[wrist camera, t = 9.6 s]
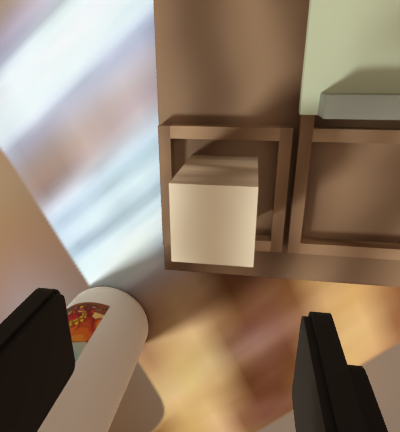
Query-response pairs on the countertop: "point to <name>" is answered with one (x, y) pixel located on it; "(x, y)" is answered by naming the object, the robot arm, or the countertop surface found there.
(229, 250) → the block
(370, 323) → the countertop surface
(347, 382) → the robot arm
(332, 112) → the lid
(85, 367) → the milk bottle
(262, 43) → the board
